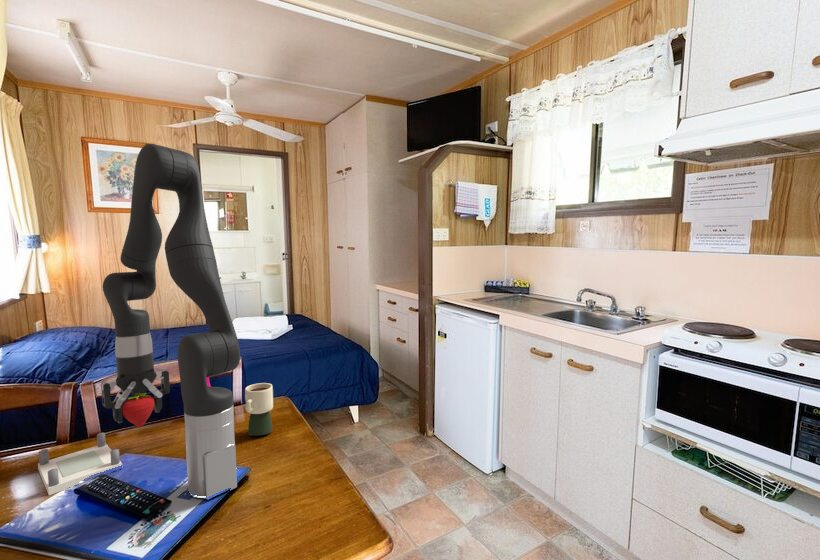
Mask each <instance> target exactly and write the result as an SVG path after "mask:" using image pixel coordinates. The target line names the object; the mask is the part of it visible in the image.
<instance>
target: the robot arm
mask: <svg viewBox="0 0 820 560" xmlns="http://www.w3.org/2000/svg"><path fill="white" fill-rule="evenodd" d="M133 174H134V175H133V183H132V190H131V191H132V193H131V204H130V215H129V216H130V217H129V222H128V223H129V225H128V229H127V232H126V236H125V239H124V242H123V247H122V249H121V253H120V258H119V259H120V263H121V264H122V265H123V266H124V267H126V268H128V269H131V270H134V271H126V272H125V271H123V272H112V273H109V274H108V275H107V276H106V277H105V278H104V280H103V282H102V292H103V295H104V297H105V300H106V302H107V304H108V306H109V308H110V311H111V314H112V316H113V321H114V330H115V331H114V332H115V341H114V342H115V345H114V346H115V347H114V354H115V360H116V361H115V362H116V364H115V365H116V379H115V380H112V381H108V382H107V381H102V382H100V383H101V384H100V387H101V401H102V403H101V404H102V406H103V407H104V408H105V409H112V416H113V417H112V418H113V419H112V420H114V422H117V423H118V424H121V423H123V415H122V408H121V405H122V404H123V403H124V402H125V401H127V400H128V398H127V397H129V395H131V396H134V395H133V394H136V393H147V391H148V392H150V394H151V393H152V394H153V396H154V397H153V396H152V397H153V398H154V400H155V405H154V409H153V411H154V412H155V413H156V414H157V413H160V412H161V410H162V409H163V396H165V395H166V394H170V392H171V386H170V385H171V384H170V372H169V371H168V370H166V369H163V368H162V369H161V370H159V371H155V366H154V365H155V364H154V352H153V350H154V349H153V348H154V347H153V339H152V335H151V325H150V323H151V321H150V314H149V312H148V311H147V310H146V309H145V310H144V309H134V308H131V307H130V305H129V303H128V302H131V301H140V300H146V299H148V298H149V299H150V298H151V296H152V295H154V293H155V291H156V289H157V279H156V263H157V259H158V256H159V253H160V250H161V246H162V242H163V232H162V228H161V225H160V223H159V220H158V219H157V216H156V213H155V209H154V205H153V198H154V194H155V192H156V190H157V189H158V190H165V191H170V192H171V191H172V192H175V193H176V196H177V199H178V206H179V211H178V214H177V217H176V220H175V222H174V224H173V225H172V227H171V229H170V230H169V232H168V234H167V237H166V239H165V241H164V242H165V243H164V252H165V253H164V254H165V257H166V258H165V259H166V262H167V268H168V273H169V276H170V277H171V279H172V281H173V282H174V283H175V285H176V286H177V287H178V288H179V289H180V290H181V291H182V292H183V293H184V294H185V295H186V296H187V297H188V298H190V300H192V301H193V303H194V304H195V305H196V306H197V307H198V308H199V309H200V311H201V312H202V313H203V316H204V319H205V320H206V323H207V325H208V328H209V331H204V332H198V333H192V334H187V335H184V336H182V338H180V340H179V342H178V347H177V365H178V372H179V381H180V391H181V397H182V403H183V411H184V412H183V414H184V431H185V432H184V433H185V434H184V436H185V452H186V453H185V454H186V475H187V492H188V491H189V492H190V493H191V494H193V495H197V496H206V497H207V498H208V497H209V496H212V495H214V494H216V493H218V492H220V491H223V490H225V489H228V488H231V489H230V491H232V490H234V489H236V488H238V480H237V478H238V477H237V476H238V475H237V455H236V451H237V450H236V439H235V438H236V437H235V411H234V410H235V409H234V393H233V391H232V390H230V389H228V388H226V387H220V386H211V387H210V386H207V381H206V377H209V378H210V377H213V376H216V375H221V374H225V373H228V372H231V371H234V370H236V368H238V366H239V364H240V362H241V348H240V343H239V339H238V336H237V332H236V330H235V327H234V323H233V320H232V318H231V317H232V316H231V315H230V312H229V309H228V305H227V302H226V300H225V299H226V298H225V295H224V292H223V288H222V283H221V277H220V275H219V269H218V265H217V259H216V254H215V249H214V247H213V242H212V239H211V236H210V231H209V227H208V226H209V225H208V223H207V217H206V211H205V205H204V197H203V189H202V180H201V179H202V178H201V173H200V168H199V165H198V162H197V160H196V158H195V157H194V156H193V155H192V154H191V153H189V152H186V151H183V150H179V149H175V148H171V147H168V146H167V147H166V146H163V145H159V144H154V143H148V144H145V145H144V146H142V148H141V149H140V151H139V152H138V155H137V158H136V161H135V165H134V173H133ZM157 378H158V379H159V380H160V384H161V385H160V387H161V389H158V388H157V387H156V386H155V385H154V384H153V383H154V381H155V380H156V379H157ZM116 386H117V387H118V388H119V391H118V392H117V394H116V396H115V398H114V400H113V401H112V397H111V394H112V393H111V392H112V391H114V389H115V387H116Z"/></svg>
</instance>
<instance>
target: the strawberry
mask: <svg viewBox="0 0 820 560" xmlns="http://www.w3.org/2000/svg"><path fill="white" fill-rule="evenodd" d="M149 394H151V392H150V391H148V392H138V393H136V394H133V395H131V396H128V397H127V399H126V400H124V402H123V404H122V405H121V408H122V418H124V419H125V420H126V421H128V422H129V423H131V424H133V425H135V426H136V428H140V427H143V426H144V425H145V423H146V422H147V421H148V419H149V418H150V416H151V414H152V413H153V411H154V405H155V400H154V398H153V396H152V395H149Z"/></svg>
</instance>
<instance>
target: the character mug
mask: <svg viewBox="0 0 820 560" xmlns="http://www.w3.org/2000/svg"><path fill="white" fill-rule="evenodd" d="M273 388H274V387H273V384H272V383H267V382H260V383H258V382H257V383H254V384H250V385H247V386H246V387H245V388H244V400H245V408H244V409H245V411H246V413H249V414H250V415H249V419H248V427H247V428H248V429H247V430H248V431H247V435H249V436H250V437H251V436H255V437H256V436H257V437H258V436H264V435H268V434H271V432H272V431H273V421H272V417H271V412H270V411H272V410H273V408H274V389H273Z"/></svg>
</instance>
